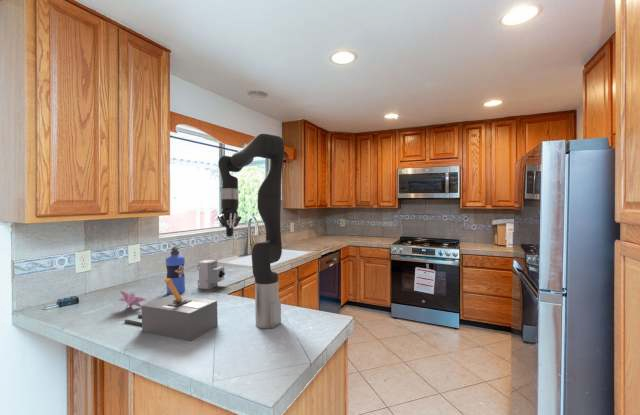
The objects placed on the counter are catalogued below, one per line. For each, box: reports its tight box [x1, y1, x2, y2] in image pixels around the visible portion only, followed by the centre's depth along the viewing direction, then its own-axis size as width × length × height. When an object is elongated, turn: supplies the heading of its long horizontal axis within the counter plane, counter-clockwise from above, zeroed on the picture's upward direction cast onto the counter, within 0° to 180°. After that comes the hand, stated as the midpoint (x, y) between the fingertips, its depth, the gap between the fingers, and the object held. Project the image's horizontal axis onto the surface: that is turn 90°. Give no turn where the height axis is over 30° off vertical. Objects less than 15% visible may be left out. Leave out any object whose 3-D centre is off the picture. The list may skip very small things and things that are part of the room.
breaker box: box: [124, 295, 219, 342], centre depth 119 cm, size 39×14×11 cm, turn 69°
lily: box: [117, 290, 147, 314], centre depth 137 cm, size 12×12×10 cm
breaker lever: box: [164, 277, 183, 302], centre depth 114 cm, size 2×1×12 cm
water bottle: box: [165, 246, 186, 296], centre depth 163 cm, size 9×9×25 cm
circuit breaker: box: [196, 259, 226, 290], centre depth 173 cm, size 8×14×15 cm, turn 78°
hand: (229, 236), depth 137 cm, fingers closed
